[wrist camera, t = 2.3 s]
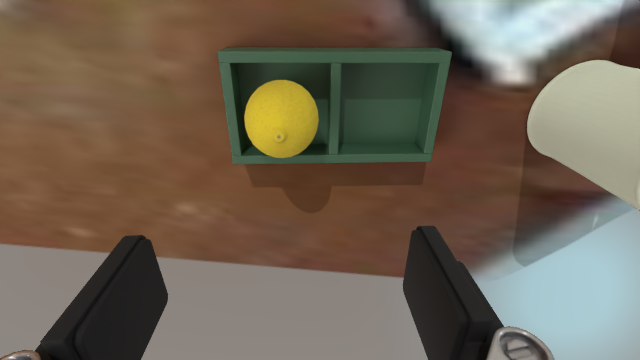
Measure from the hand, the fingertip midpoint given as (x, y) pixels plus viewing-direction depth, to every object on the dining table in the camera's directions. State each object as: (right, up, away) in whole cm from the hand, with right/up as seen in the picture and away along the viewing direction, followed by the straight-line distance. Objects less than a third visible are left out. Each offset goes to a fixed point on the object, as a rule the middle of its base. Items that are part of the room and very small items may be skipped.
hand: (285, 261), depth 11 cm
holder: (+2, +10, +17) cm, 19 cm away
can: (+25, +10, +18) cm, 33 cm away
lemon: (-2, +10, +16) cm, 19 cm away
